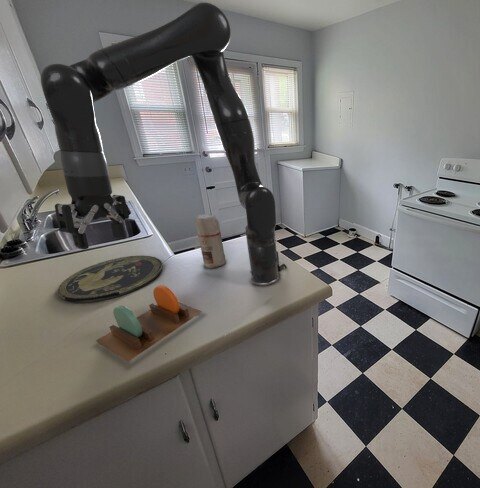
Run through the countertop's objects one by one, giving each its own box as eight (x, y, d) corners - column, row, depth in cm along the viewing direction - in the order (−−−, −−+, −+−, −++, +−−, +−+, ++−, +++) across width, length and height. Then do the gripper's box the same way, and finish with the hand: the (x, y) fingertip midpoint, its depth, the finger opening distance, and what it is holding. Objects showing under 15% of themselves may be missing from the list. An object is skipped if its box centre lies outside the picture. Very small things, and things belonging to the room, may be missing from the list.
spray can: (199, 264, 105) (189, 215, 97) (219, 257, 111) (210, 210, 103) (210, 271, 100) (200, 220, 92) (230, 263, 106) (222, 214, 98)
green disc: (125, 329, 70) (114, 300, 66) (146, 341, 66) (135, 311, 62) (120, 332, 69) (108, 303, 65) (141, 344, 65) (130, 314, 61)
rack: (171, 302, 83) (168, 291, 81) (203, 315, 77) (200, 304, 75) (97, 345, 67) (91, 332, 65) (130, 366, 61) (124, 353, 59)
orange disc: (162, 308, 78) (154, 281, 74) (182, 317, 74) (175, 289, 70) (158, 310, 77) (149, 283, 73) (178, 320, 73) (171, 292, 69)
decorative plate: (153, 248, 115) (170, 275, 94) (154, 252, 115) (172, 280, 94) (59, 271, 97) (54, 311, 76) (61, 276, 98) (57, 317, 77)
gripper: (65, 177, 51) (84, 255, 57) (130, 172, 65) (140, 236, 70) (34, 173, 53) (55, 250, 58) (104, 169, 66) (116, 232, 71)
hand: (102, 242), depth 64 cm, fingers open, 8 cm apart
